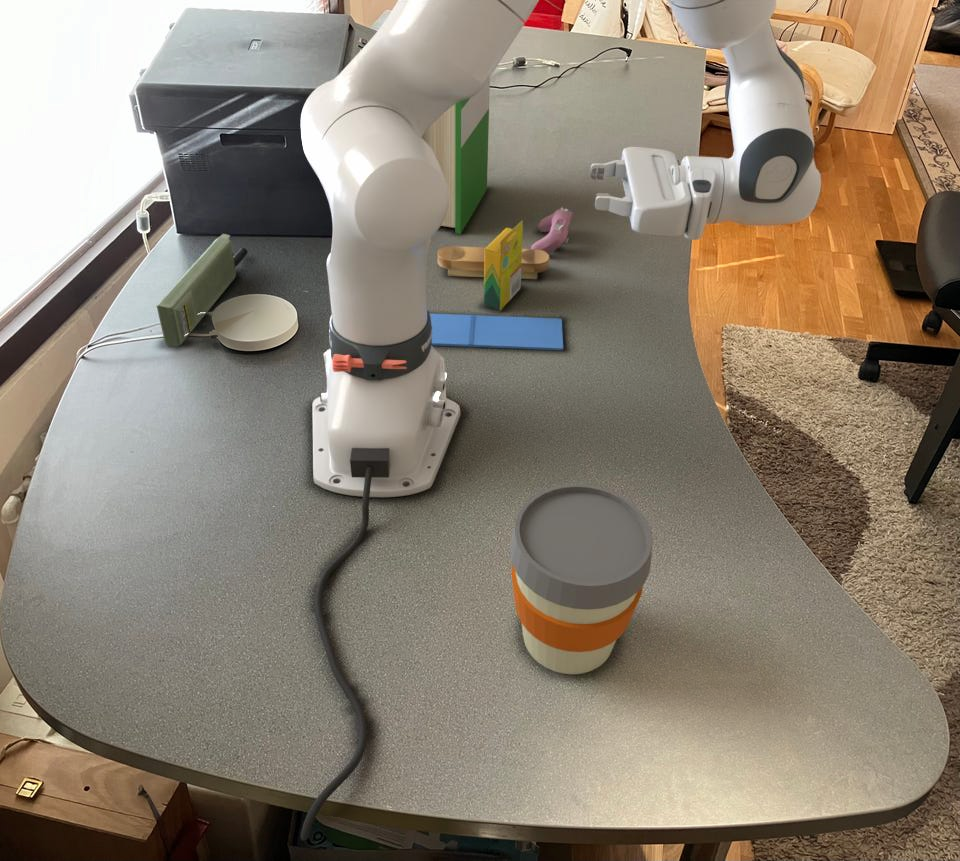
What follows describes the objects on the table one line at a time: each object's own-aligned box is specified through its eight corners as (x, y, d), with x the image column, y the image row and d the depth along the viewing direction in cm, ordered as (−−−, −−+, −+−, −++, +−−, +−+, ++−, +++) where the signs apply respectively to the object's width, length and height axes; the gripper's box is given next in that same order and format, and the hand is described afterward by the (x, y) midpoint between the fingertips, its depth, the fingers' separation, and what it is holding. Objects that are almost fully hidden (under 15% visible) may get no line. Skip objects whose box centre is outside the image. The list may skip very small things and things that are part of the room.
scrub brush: (547, 266, 139) (549, 249, 137) (548, 281, 136) (549, 264, 134) (438, 262, 139) (438, 245, 137) (436, 276, 136) (436, 259, 134)
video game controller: (551, 268, 142) (573, 235, 137) (527, 254, 141) (549, 221, 136) (559, 239, 149) (581, 207, 144) (536, 225, 148) (557, 193, 144)
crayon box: (504, 283, 135) (507, 214, 127) (521, 288, 134) (525, 219, 126) (482, 306, 130) (483, 236, 122) (499, 311, 129) (502, 241, 121)
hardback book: (460, 234, 147) (461, 90, 131) (418, 227, 148) (414, 84, 132) (486, 189, 160) (490, 53, 144) (448, 184, 161) (447, 49, 145)
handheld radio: (160, 344, 121) (234, 256, 139) (182, 348, 121) (254, 259, 139) (151, 304, 117) (229, 218, 135) (174, 308, 116) (249, 221, 135)
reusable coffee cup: (479, 621, 86) (482, 517, 77) (576, 566, 92) (591, 463, 82) (558, 715, 79) (573, 613, 69) (659, 649, 84) (686, 546, 75)
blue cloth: (563, 350, 122) (563, 347, 121) (420, 345, 122) (420, 342, 122) (561, 320, 127) (561, 318, 127) (425, 315, 128) (425, 312, 127)
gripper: (687, 137, 125) (591, 133, 125) (710, 201, 109) (600, 197, 110) (679, 179, 129) (586, 175, 129) (700, 246, 113) (594, 242, 114)
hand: (593, 185), depth 119 cm, fingers open, 8 cm apart
